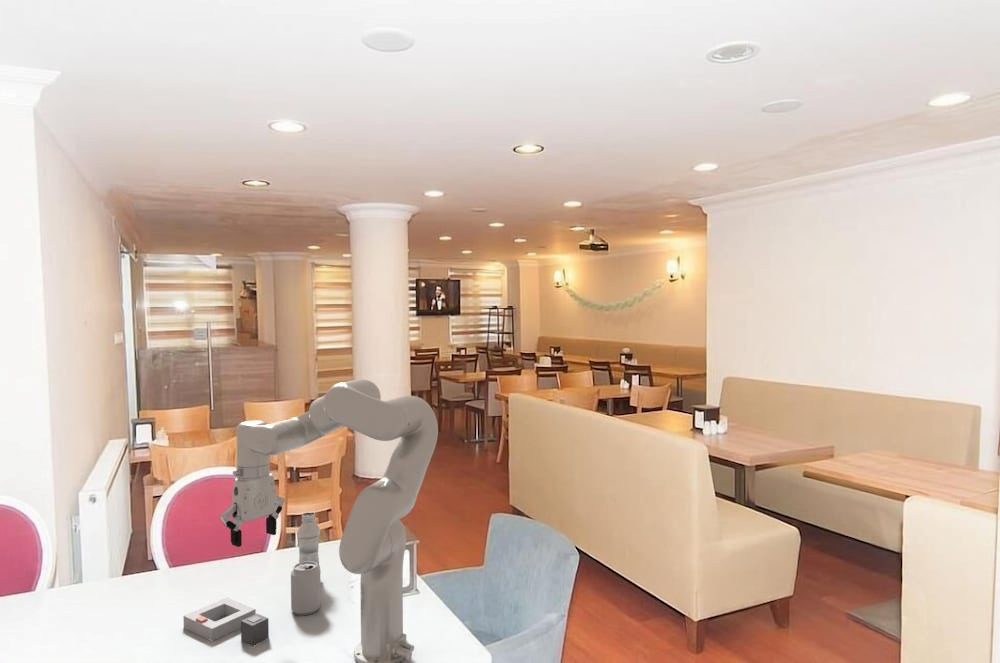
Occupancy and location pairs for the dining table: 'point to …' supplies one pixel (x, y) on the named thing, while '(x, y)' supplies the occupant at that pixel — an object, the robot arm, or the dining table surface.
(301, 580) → the can
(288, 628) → the dining table surface
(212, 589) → the dining table surface
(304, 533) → the plastic bottle
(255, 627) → the plug
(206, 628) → the socket plate
